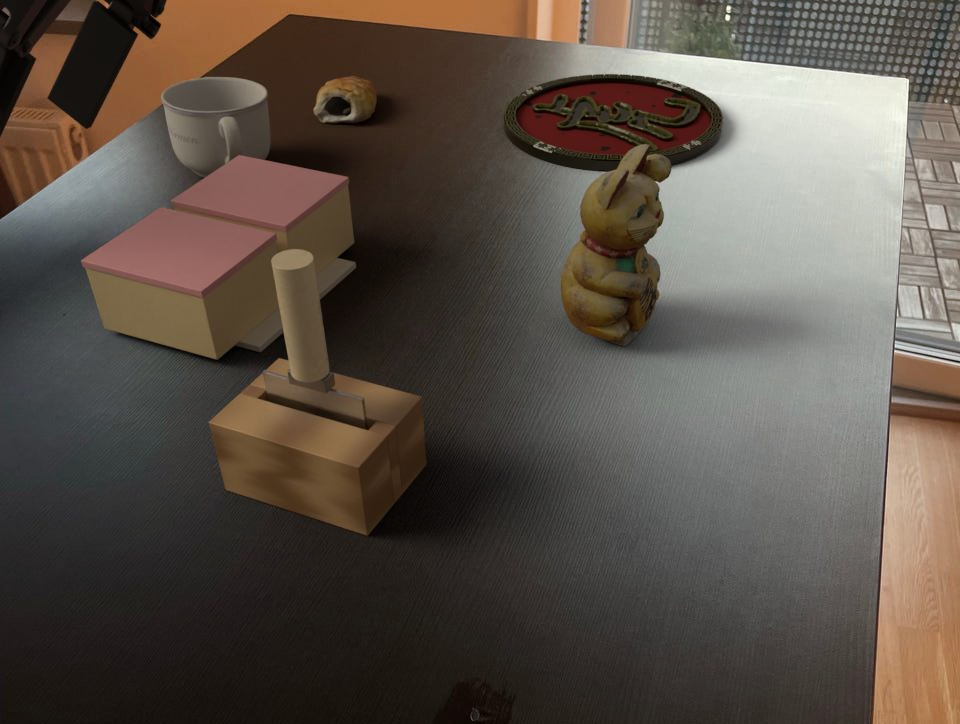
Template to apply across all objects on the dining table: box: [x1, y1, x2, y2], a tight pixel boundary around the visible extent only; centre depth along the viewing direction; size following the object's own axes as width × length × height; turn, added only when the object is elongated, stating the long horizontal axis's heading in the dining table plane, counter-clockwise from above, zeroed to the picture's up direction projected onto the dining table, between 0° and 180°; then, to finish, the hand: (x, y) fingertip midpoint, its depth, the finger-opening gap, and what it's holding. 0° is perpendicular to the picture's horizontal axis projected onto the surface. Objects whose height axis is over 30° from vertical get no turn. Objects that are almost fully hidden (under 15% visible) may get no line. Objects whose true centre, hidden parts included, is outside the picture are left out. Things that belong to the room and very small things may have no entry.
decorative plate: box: [503, 73, 724, 172], centre depth 118 cm, size 25×1×25 cm
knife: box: [261, 249, 368, 430], centre depth 70 cm, size 8×3×17 cm, turn 64°
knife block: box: [208, 357, 427, 537], centre depth 74 cm, size 12×9×6 cm
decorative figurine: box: [560, 144, 673, 347], centre depth 84 cm, size 10×8×15 cm
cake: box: [80, 155, 357, 360], centre depth 92 cm, size 16×23×7 cm
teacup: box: [160, 76, 271, 179], centre depth 108 cm, size 14×11×8 cm
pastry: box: [313, 75, 378, 125], centre depth 121 cm, size 9×7×4 cm
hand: (18, 131), depth 58 cm, fingers open, 13 cm apart
